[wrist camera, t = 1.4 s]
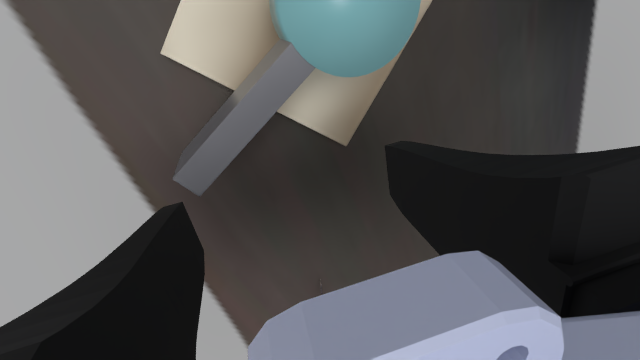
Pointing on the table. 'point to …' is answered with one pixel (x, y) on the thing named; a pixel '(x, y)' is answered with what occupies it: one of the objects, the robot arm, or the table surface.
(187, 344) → the robot arm
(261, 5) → the post block
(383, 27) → the teal grey handled piece
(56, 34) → the table surface
